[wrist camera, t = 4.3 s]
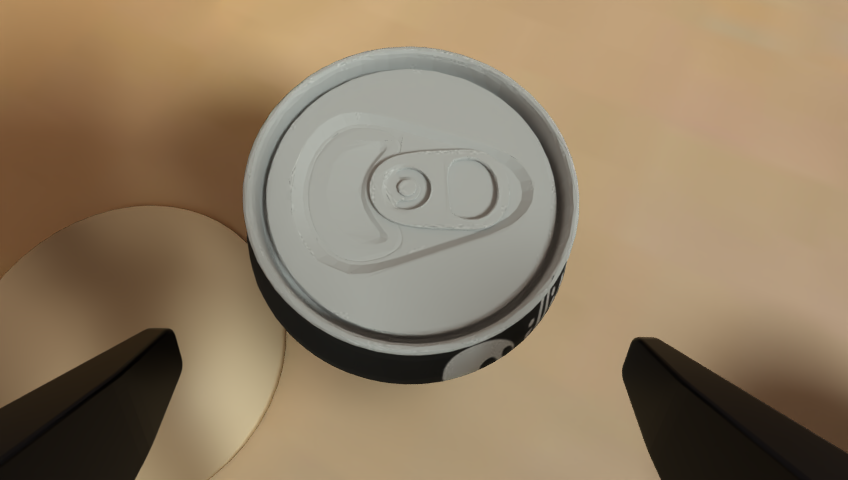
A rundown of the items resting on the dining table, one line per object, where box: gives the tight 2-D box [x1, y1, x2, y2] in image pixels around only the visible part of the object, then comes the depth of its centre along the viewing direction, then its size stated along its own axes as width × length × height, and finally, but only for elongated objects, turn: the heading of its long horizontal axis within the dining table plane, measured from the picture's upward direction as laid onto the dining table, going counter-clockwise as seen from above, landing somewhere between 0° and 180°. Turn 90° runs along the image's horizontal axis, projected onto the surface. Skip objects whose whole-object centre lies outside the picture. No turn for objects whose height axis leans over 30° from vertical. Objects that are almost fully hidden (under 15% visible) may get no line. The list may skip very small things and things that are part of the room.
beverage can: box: [243, 47, 579, 384], centre depth 13 cm, size 7×7×12 cm
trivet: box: [0, 206, 286, 480], centre depth 17 cm, size 12×12×1 cm
